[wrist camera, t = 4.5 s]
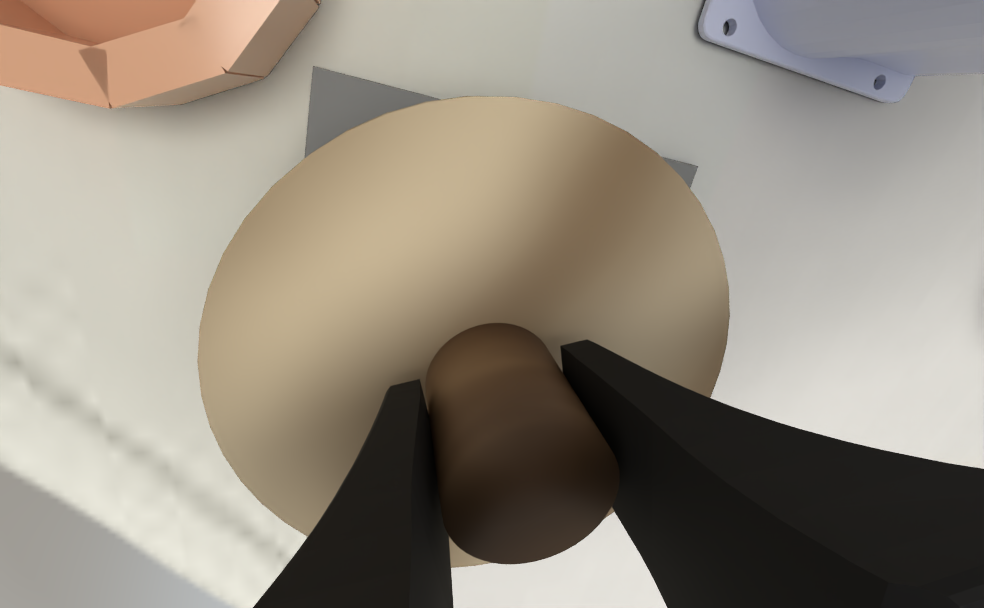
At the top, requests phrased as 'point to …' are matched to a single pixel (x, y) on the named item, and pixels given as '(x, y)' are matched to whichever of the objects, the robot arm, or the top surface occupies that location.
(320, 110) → the mat
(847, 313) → the top surface
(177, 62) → the bowl
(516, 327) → the lid
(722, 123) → the top surface
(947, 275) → the top surface
